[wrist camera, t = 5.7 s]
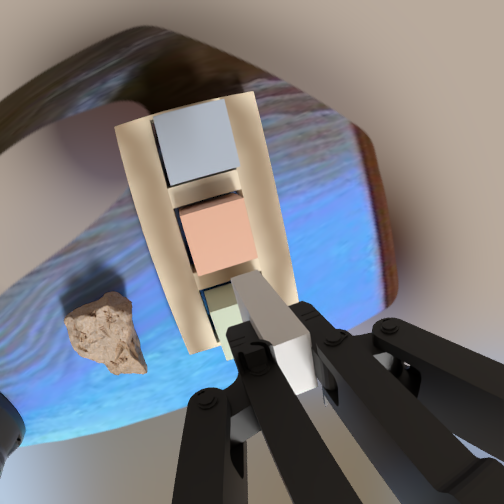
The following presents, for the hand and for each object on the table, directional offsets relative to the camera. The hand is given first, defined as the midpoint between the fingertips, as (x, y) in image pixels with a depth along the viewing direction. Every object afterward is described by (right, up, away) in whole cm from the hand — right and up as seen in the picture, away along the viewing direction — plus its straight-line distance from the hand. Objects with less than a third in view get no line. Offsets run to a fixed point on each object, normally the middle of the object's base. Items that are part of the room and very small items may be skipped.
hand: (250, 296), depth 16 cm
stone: (-17, -7, +18) cm, 25 cm away
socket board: (-4, +5, +17) cm, 18 cm away
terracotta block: (-4, +5, +17) cm, 18 cm away
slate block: (-6, +13, +12) cm, 18 cm away
